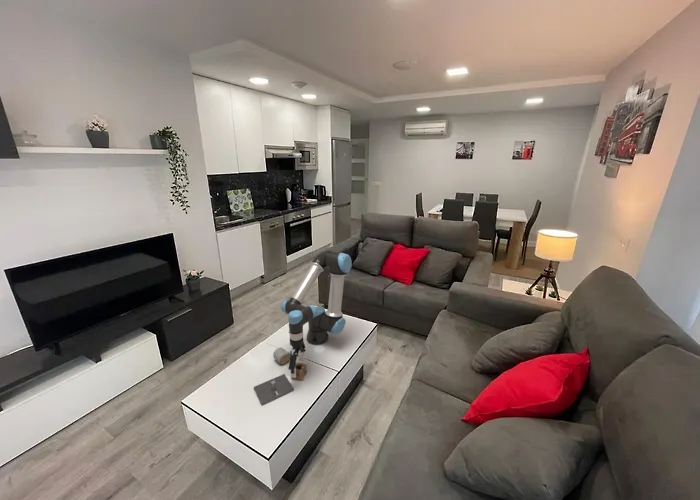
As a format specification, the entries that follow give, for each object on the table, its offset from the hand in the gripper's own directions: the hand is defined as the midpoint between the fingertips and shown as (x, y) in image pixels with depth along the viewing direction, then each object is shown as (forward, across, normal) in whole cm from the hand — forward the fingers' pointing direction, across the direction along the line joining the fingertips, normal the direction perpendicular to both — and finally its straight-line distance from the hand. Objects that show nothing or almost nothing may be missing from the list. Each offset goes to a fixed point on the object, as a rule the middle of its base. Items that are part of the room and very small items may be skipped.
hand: (298, 368), depth 168 cm
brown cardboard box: (+5, -1, 0) cm, 5 cm away
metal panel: (+5, +12, -10) cm, 16 cm away
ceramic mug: (+5, -12, -14) cm, 19 cm away
